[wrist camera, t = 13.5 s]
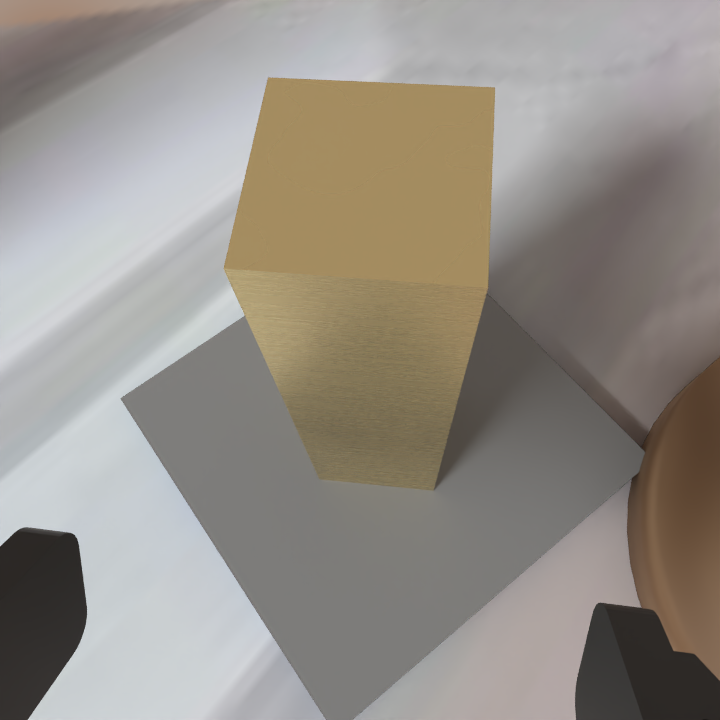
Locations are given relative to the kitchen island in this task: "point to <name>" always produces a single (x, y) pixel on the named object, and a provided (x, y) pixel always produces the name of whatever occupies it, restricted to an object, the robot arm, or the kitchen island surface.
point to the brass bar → (367, 265)
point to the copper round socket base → (681, 520)
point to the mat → (381, 502)
